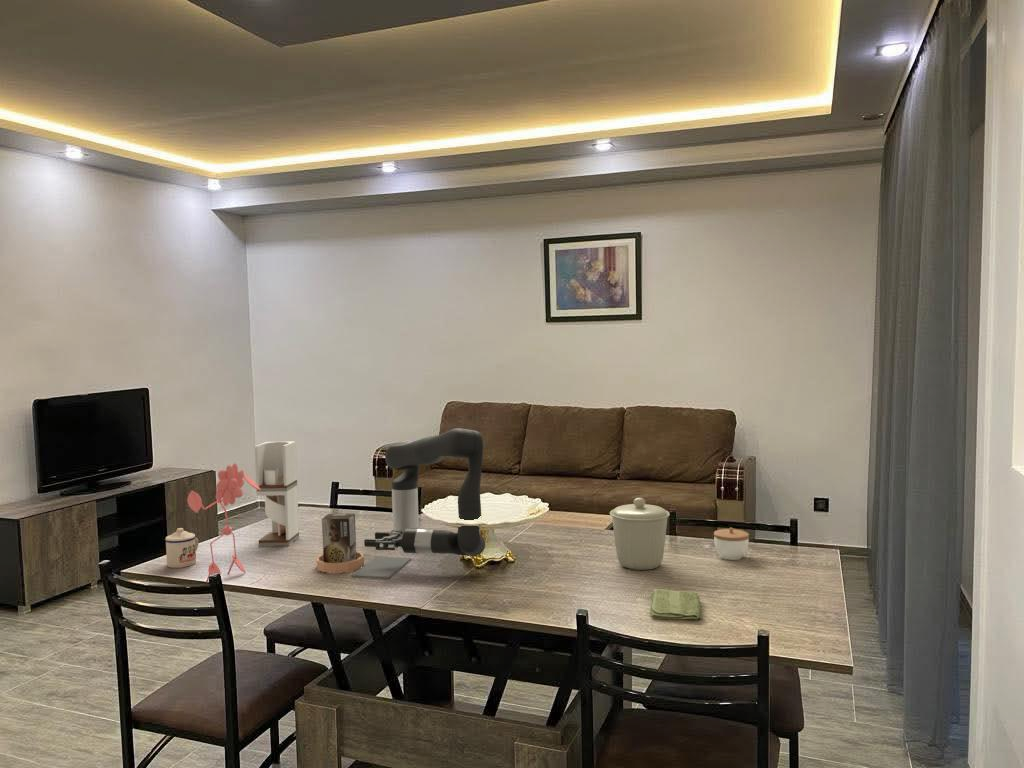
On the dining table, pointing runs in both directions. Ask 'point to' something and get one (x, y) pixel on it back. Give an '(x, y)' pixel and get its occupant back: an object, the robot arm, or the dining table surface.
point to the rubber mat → (381, 567)
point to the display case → (278, 490)
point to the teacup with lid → (181, 549)
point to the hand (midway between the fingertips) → (370, 539)
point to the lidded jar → (731, 543)
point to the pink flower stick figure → (229, 491)
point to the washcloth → (675, 605)
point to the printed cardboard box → (339, 538)
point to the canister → (639, 534)
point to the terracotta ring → (340, 564)
